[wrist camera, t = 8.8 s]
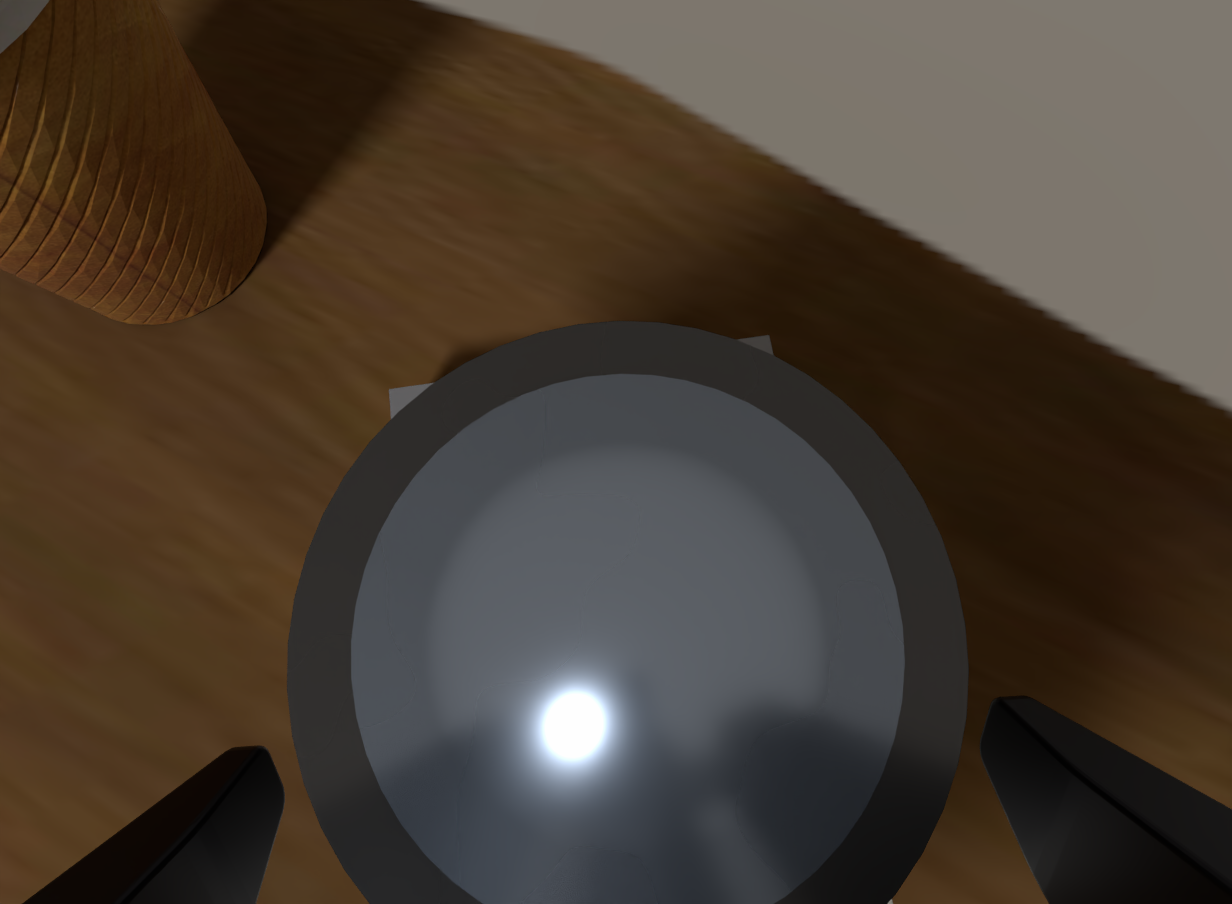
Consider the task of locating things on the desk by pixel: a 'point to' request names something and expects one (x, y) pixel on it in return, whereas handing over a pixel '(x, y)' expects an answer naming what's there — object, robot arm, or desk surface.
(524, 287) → the desk surface
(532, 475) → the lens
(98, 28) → the disposable coffee cup
